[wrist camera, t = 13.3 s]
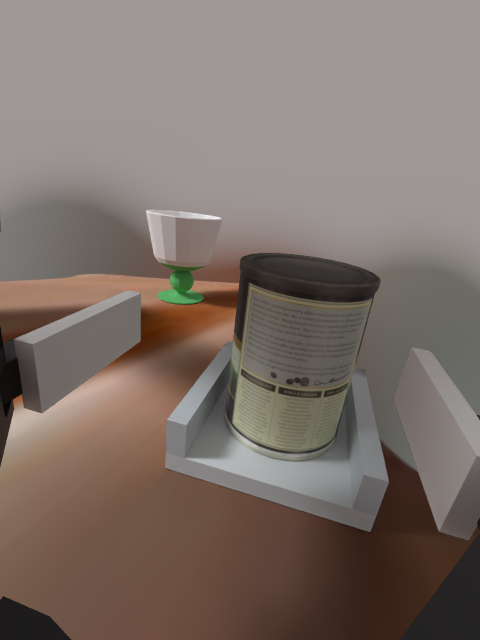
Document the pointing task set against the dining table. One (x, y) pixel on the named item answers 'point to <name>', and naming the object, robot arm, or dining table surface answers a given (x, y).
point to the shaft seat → (275, 474)
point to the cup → (182, 249)
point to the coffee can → (295, 351)
